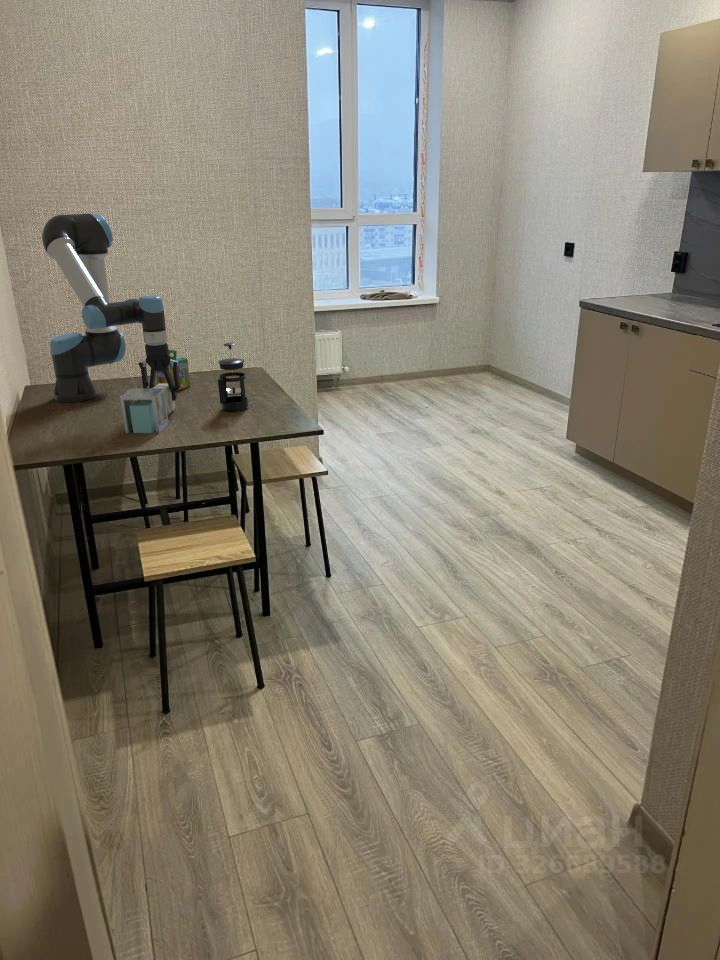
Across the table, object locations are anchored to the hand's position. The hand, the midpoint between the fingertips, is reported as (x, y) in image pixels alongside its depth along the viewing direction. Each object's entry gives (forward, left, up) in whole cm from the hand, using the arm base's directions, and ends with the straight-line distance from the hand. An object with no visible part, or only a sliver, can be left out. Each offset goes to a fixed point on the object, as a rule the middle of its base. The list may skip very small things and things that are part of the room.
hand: (164, 409), depth 246 cm
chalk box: (-6, +32, -1) cm, 33 cm away
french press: (+24, +3, -1) cm, 24 cm away
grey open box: (0, -19, -1) cm, 19 cm away
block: (0, -21, -1) cm, 21 cm away
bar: (0, -7, -1) cm, 7 cm away
